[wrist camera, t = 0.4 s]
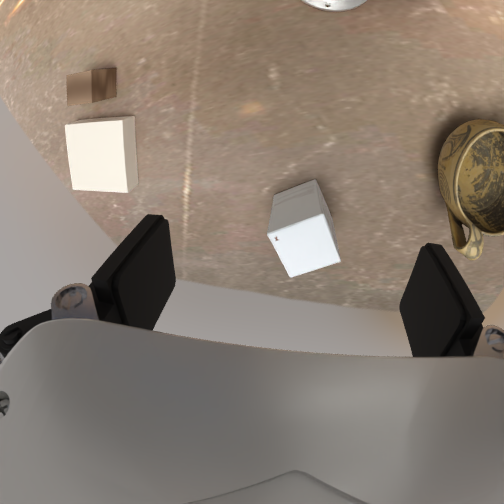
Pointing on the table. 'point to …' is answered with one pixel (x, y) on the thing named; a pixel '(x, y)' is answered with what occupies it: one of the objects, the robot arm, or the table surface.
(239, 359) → the robot arm
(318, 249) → the supplement box
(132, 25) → the table surface
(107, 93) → the walnut block
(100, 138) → the base
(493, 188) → the ceramic bowl
